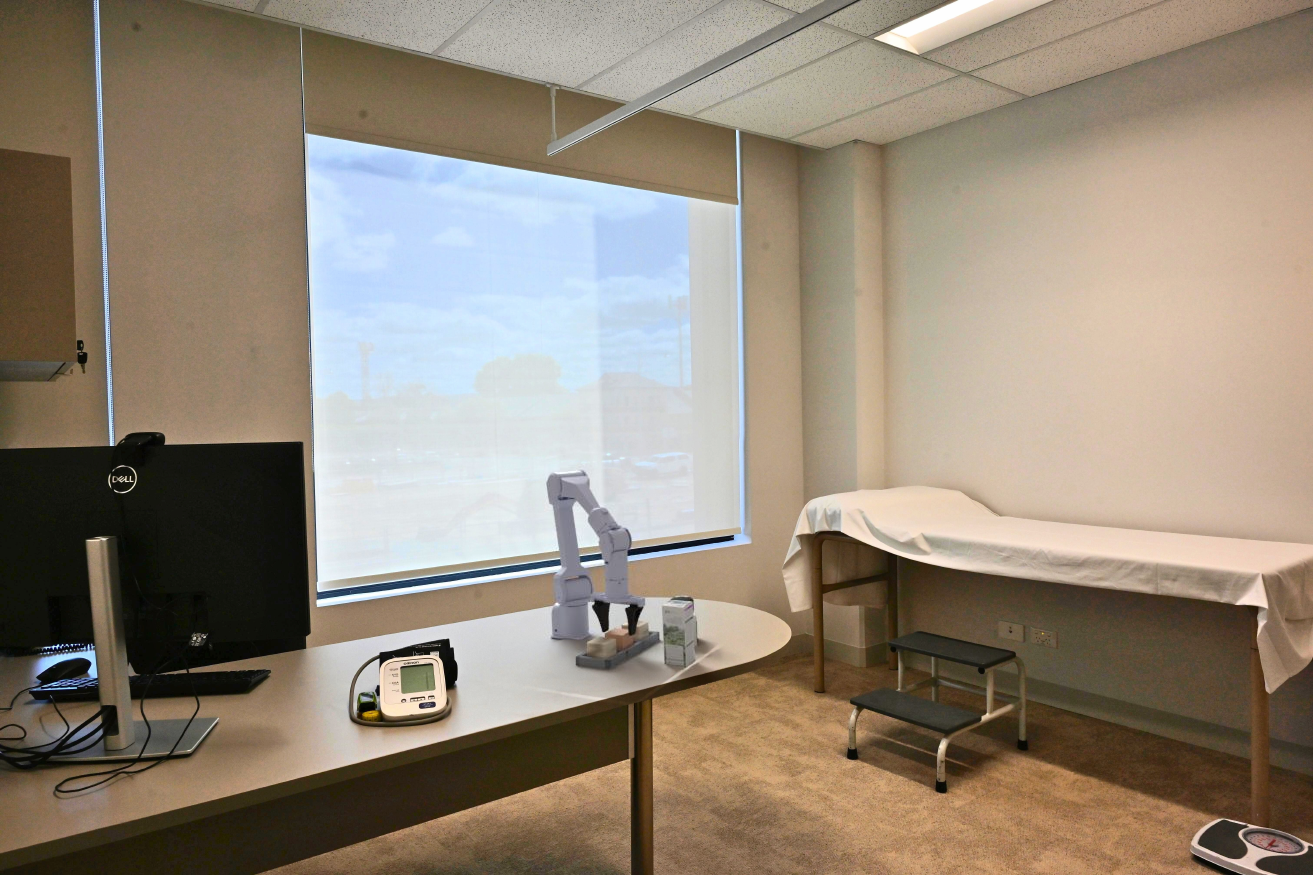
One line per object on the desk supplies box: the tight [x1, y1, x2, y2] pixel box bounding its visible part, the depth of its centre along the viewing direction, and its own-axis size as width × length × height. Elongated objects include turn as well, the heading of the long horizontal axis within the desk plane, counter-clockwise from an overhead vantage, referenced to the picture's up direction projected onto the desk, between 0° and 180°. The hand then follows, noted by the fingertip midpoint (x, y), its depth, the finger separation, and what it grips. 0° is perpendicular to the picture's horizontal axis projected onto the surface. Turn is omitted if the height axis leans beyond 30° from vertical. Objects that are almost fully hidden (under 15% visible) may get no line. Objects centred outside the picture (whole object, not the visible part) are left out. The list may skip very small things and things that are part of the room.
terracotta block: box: [604, 627, 633, 649], centre depth 200 cm, size 5×5×5 cm
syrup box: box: [661, 599, 696, 669], centre depth 191 cm, size 6×6×14 cm
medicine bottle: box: [670, 595, 699, 647], centre depth 206 cm, size 7×7×12 cm
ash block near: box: [586, 636, 617, 659], centre depth 193 cm, size 5×5×5 cm
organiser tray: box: [575, 630, 660, 671], centre depth 200 cm, size 9×25×3 cm, turn 152°
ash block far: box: [621, 620, 650, 640], centre depth 207 cm, size 5×5×5 cm
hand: (618, 632), depth 200 cm, fingers open, 7 cm apart
